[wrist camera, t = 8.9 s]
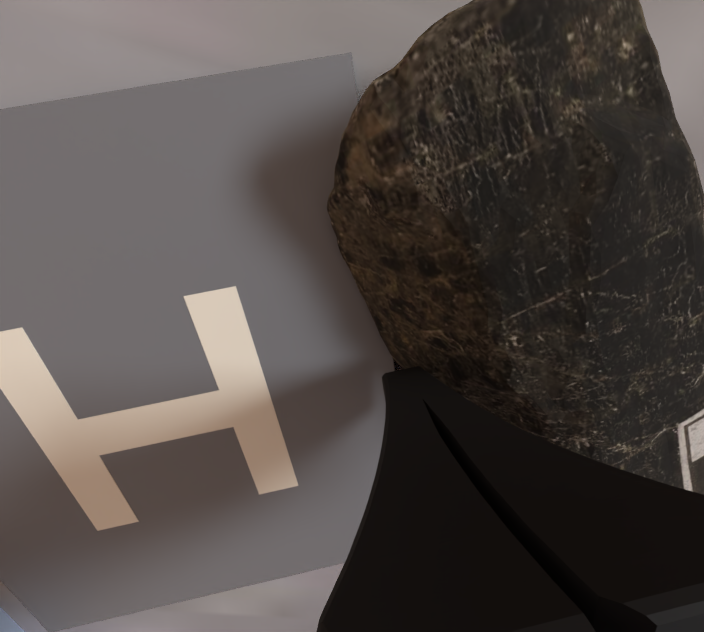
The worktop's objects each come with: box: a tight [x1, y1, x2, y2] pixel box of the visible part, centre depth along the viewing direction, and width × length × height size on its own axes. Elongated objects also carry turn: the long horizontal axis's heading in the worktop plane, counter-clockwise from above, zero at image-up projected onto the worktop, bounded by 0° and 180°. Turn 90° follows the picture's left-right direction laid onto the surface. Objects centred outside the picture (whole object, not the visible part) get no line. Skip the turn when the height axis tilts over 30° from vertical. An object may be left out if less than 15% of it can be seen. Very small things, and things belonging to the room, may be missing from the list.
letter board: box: [0, 53, 395, 632], centre depth 11 cm, size 18×16×1 cm
